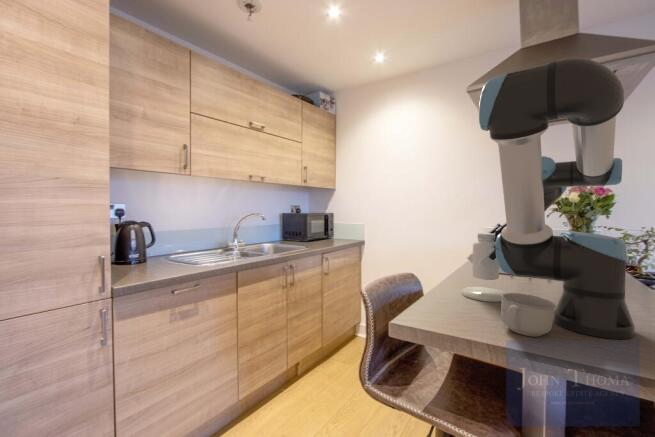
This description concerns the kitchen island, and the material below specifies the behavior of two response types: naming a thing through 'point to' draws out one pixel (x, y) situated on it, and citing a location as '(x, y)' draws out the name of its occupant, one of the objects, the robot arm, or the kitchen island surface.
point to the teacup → (527, 314)
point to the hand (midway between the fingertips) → (475, 262)
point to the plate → (483, 294)
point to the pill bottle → (479, 252)
